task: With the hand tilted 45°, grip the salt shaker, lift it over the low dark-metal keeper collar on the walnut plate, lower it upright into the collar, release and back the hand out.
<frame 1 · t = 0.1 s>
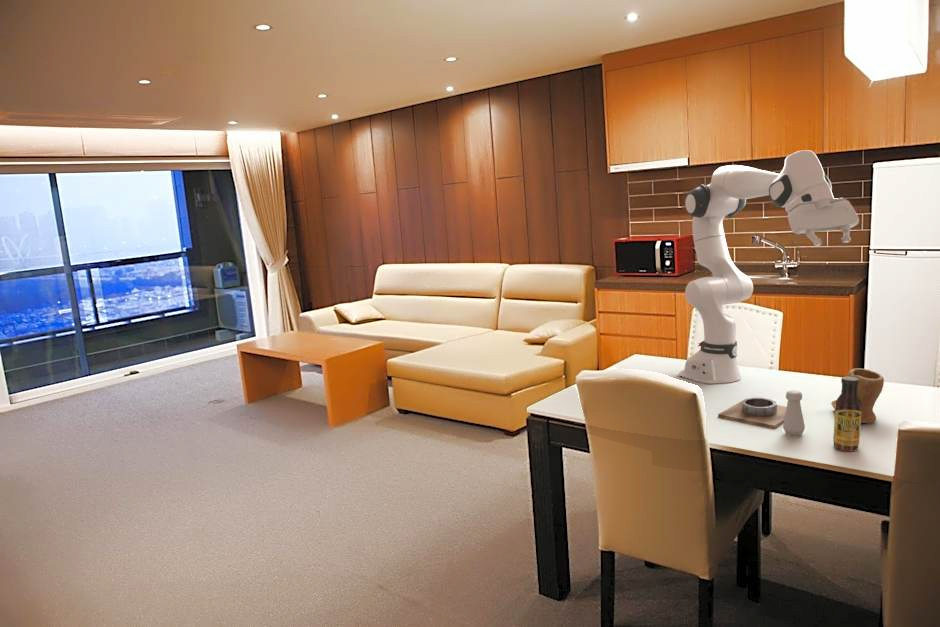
hand: (832, 243, 192), 54 cm above the table, tool tilted 30°, fingers open, 8 cm apart
salt shaker: (793, 434, 197), on the table
stone cup: (857, 417, 206), on the table
keeper plate: (759, 414, 215), on the table
sauce bottle: (846, 448, 185), on the table
keeper collar: (759, 407, 214), on the keeper plate, point 2 cm above the table
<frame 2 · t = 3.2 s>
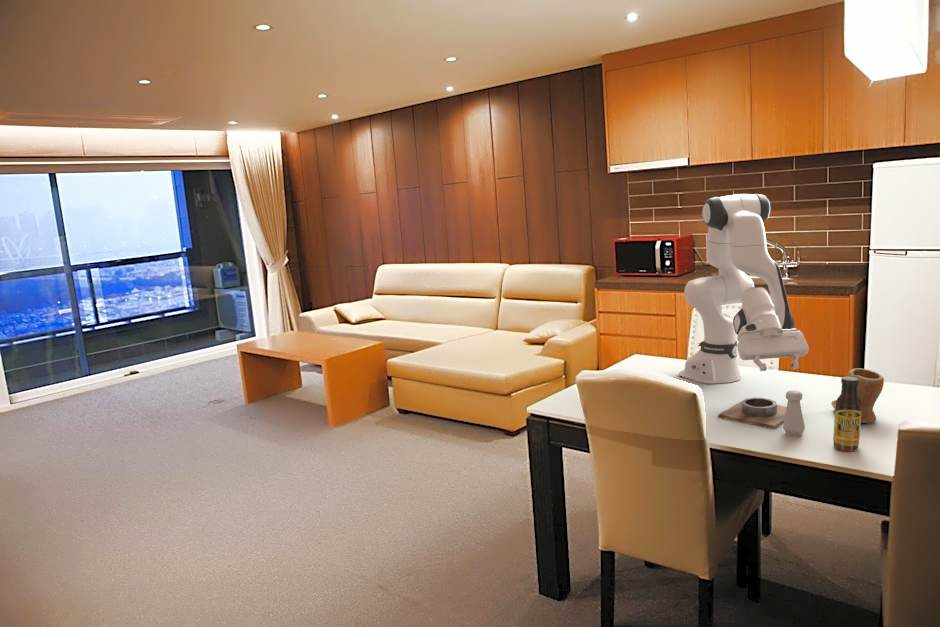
hand: (779, 369, 204), 17 cm above the table, tool tilted 45°, fingers open, 8 cm apart
nothing on the table moved.
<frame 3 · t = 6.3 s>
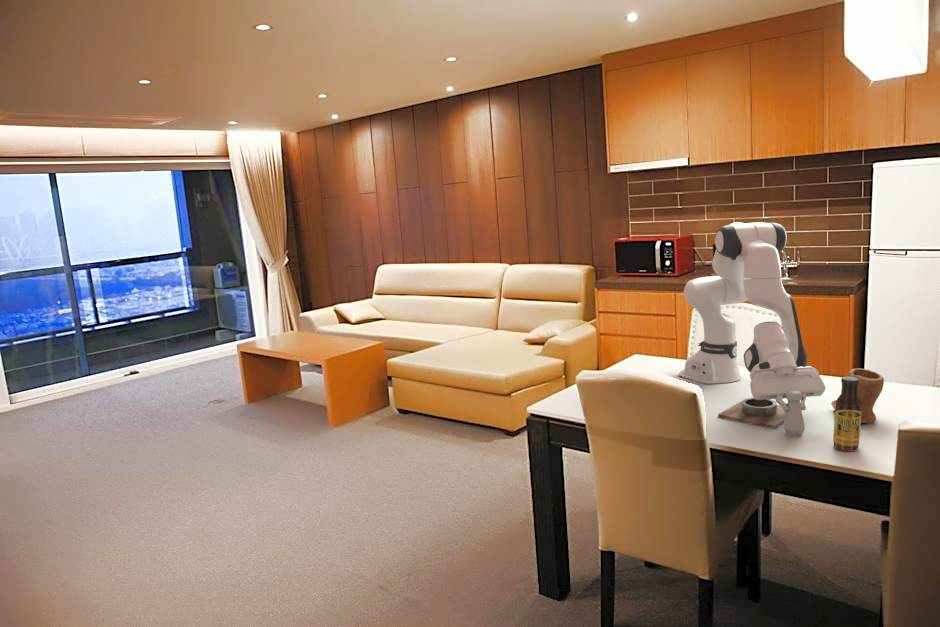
hand: (794, 410, 195), 8 cm above the table, tool tilted 45°, fingers closed on salt shaker, 3 cm apart
salt shaker: (793, 434, 197), on the table, touching gripper
everything else where it was.
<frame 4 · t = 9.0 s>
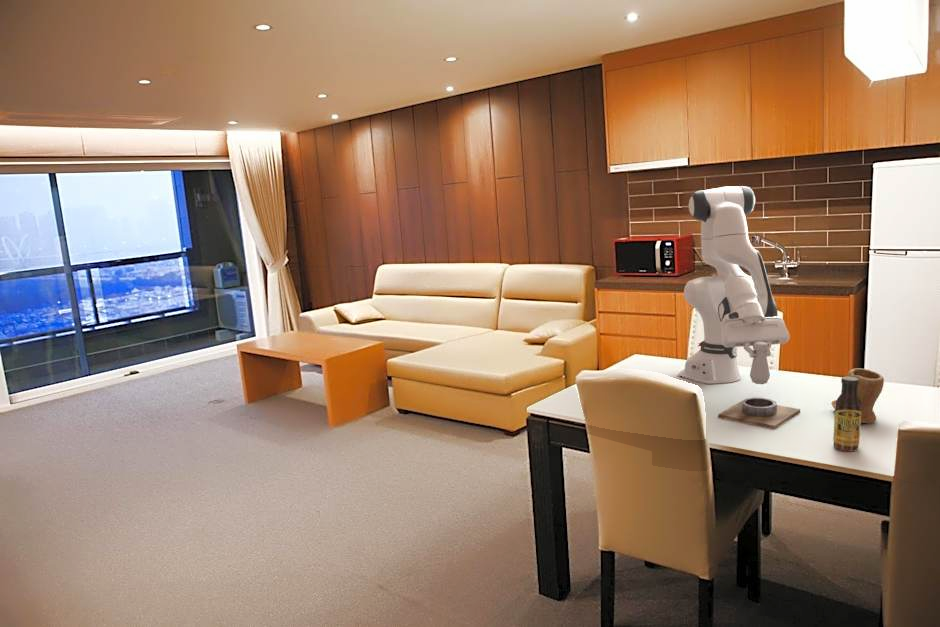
hand: (760, 356, 210), 20 cm above the table, tool tilted 45°, fingers closed on salt shaker, 3 cm apart
salt shaker: (759, 382, 212), point 11 cm above the table, touching gripper
everything else where it was.
when the fingers open (10 cm above the table, at t = 12.0 s): salt shaker stays where it is, resting on keeper plate.
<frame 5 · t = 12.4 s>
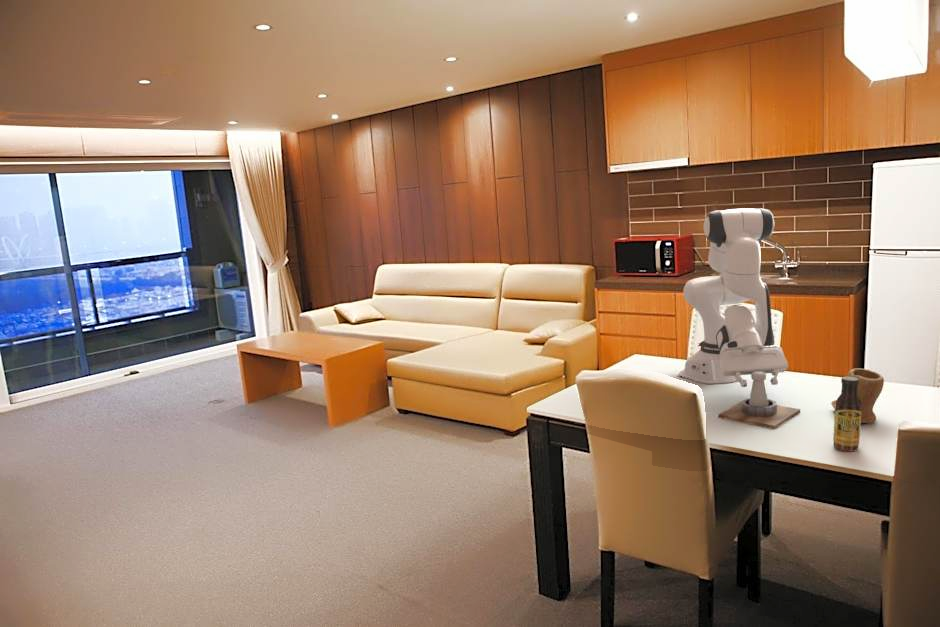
hand: (759, 384, 212), 10 cm above the table, tool tilted 45°, fingers open, 8 cm apart
salt shaker: (758, 411, 215), point 1 cm above the table, touching keeper plate
everything else where it was.
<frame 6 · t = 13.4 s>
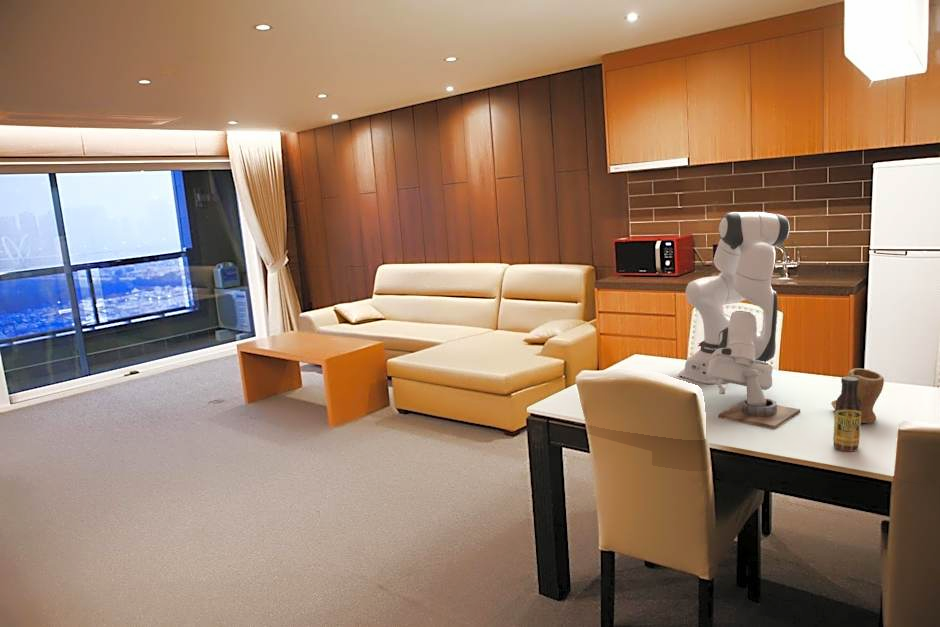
hand: (738, 397, 217), 5 cm above the table, tool tilted 35°, fingers open, 8 cm apart
salt shaker: (758, 410, 214), point 2 cm above the table, touching gripper
everything else where it was.
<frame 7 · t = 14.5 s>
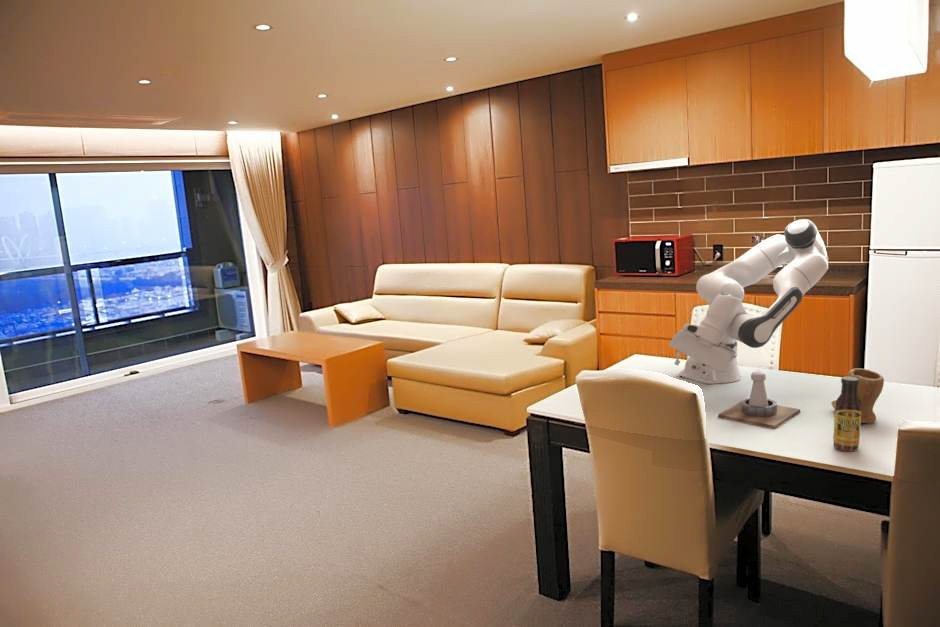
hand: (688, 371, 232), 10 cm above the table, tool tilted 35°, fingers open, 8 cm apart
salt shaker: (758, 413, 214), point 1 cm above the table, touching keeper plate
everything else where it was.
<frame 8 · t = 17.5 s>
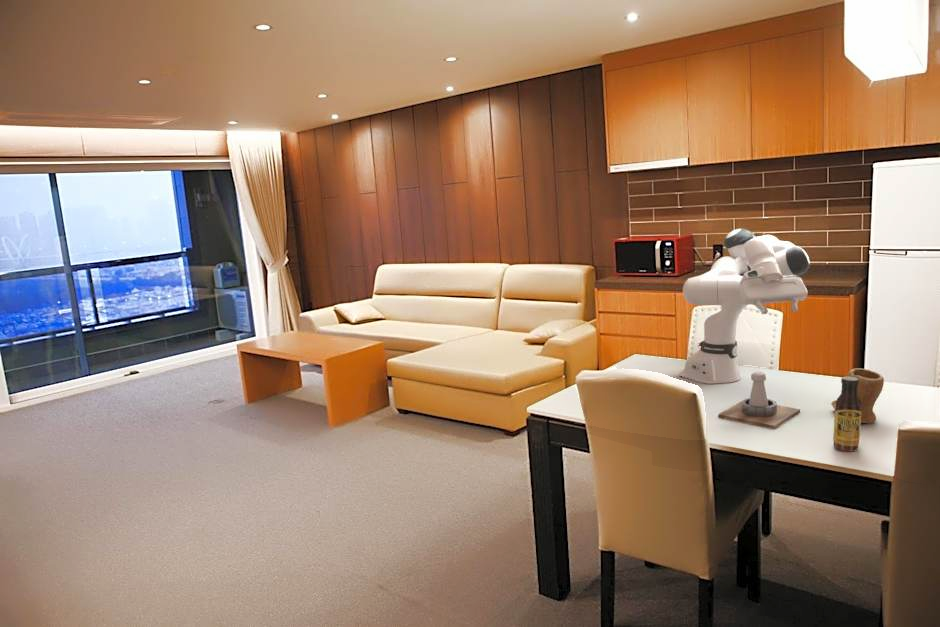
hand: (780, 311, 215), 31 cm above the table, tool tilted 45°, fingers open, 8 cm apart
nothing on the table moved.
at the end: salt shaker 0.9 cm off-centre on the keeper collar, point 0.8 cm above the keeper collar's base; salt shaker tilted 0°; the gripper is holding nothing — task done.
